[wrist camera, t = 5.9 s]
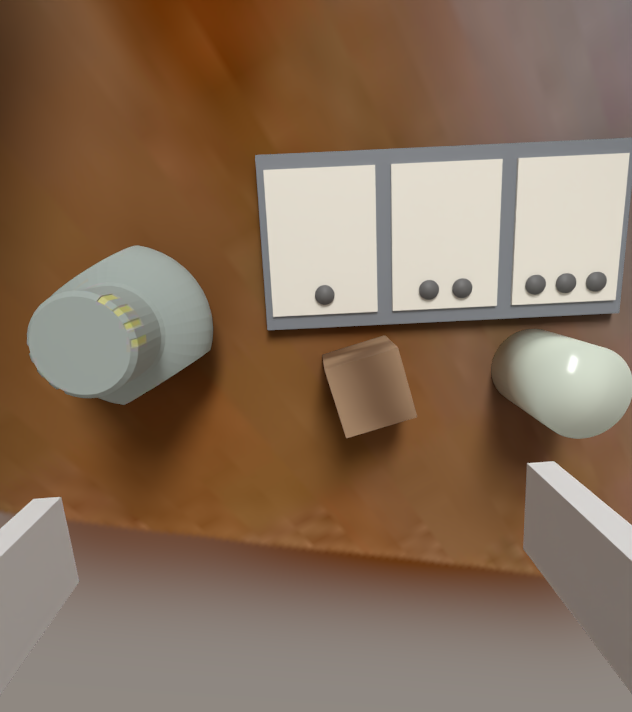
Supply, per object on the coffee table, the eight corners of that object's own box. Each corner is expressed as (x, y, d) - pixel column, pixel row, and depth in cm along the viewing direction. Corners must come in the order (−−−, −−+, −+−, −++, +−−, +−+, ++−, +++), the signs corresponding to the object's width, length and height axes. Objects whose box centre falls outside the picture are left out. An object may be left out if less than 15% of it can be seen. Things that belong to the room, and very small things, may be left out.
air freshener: (174, 232, 32) (115, 220, 22) (239, 329, 33) (210, 358, 23) (54, 312, 33) (-54, 335, 23) (122, 402, 34) (48, 459, 25)
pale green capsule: (489, 405, 35) (534, 440, 28) (492, 330, 34) (539, 348, 27) (565, 401, 35) (627, 436, 28) (570, 326, 34) (638, 343, 27)
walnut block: (340, 413, 35) (346, 438, 30) (322, 354, 34) (324, 370, 29) (401, 394, 35) (417, 417, 30) (384, 335, 34) (398, 347, 29)
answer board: (268, 328, 33) (267, 331, 32) (256, 157, 31) (254, 153, 29) (611, 311, 33) (622, 313, 32) (628, 140, 31) (640, 135, 30)
